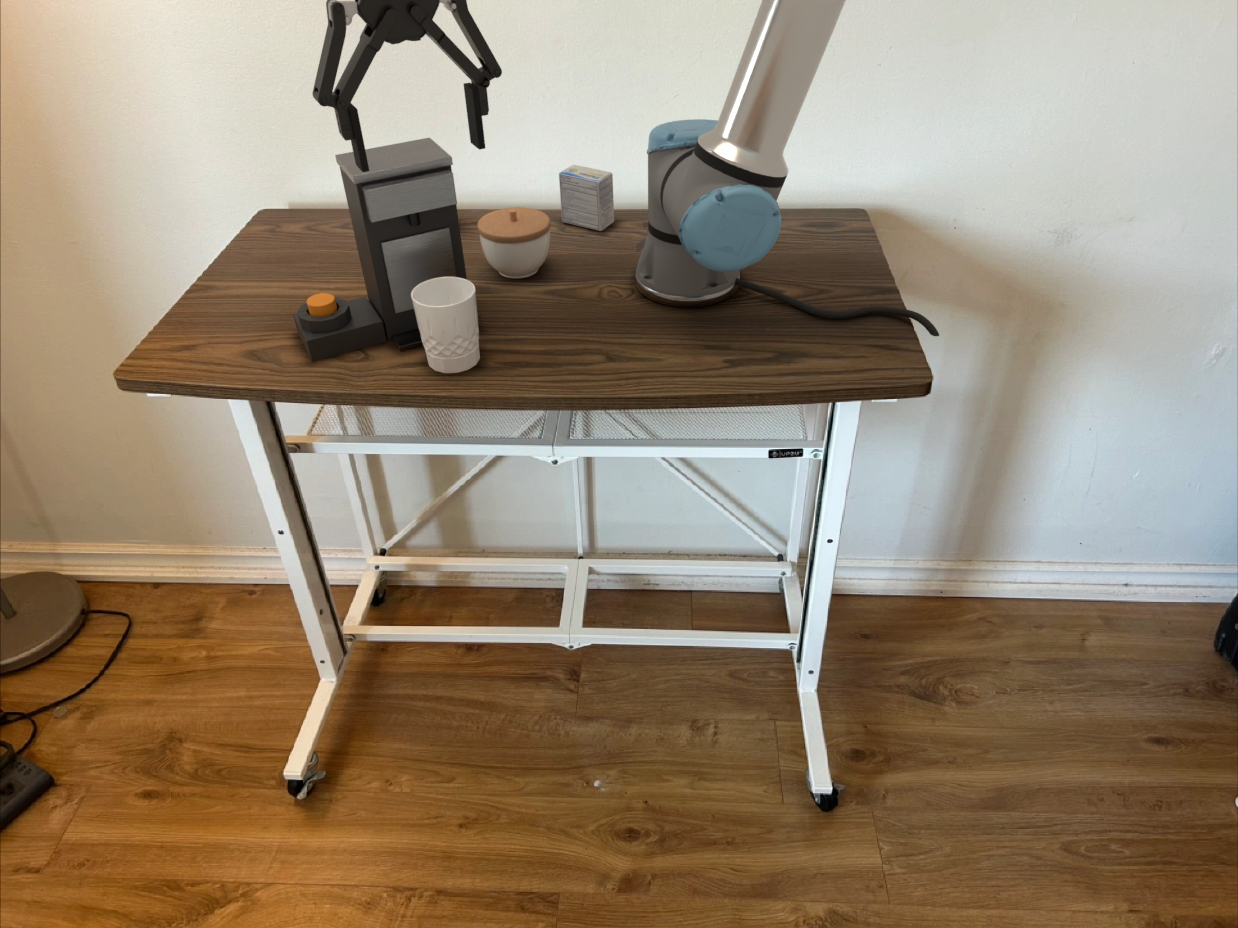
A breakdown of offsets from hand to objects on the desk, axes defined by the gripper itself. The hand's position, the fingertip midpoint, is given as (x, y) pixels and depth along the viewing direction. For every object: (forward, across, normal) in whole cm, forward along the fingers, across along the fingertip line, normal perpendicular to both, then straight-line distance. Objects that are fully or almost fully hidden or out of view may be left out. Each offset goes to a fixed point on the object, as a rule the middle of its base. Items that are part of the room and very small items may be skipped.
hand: (421, 156), depth 99 cm
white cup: (+27, 0, 0) cm, 27 cm away
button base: (+27, +11, -13) cm, 32 cm away
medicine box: (+27, -35, -30) cm, 53 cm away
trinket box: (+27, -18, -20) cm, 38 cm away
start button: (+22, +13, -13) cm, 29 cm away
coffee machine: (+27, 0, -11) cm, 29 cm away
